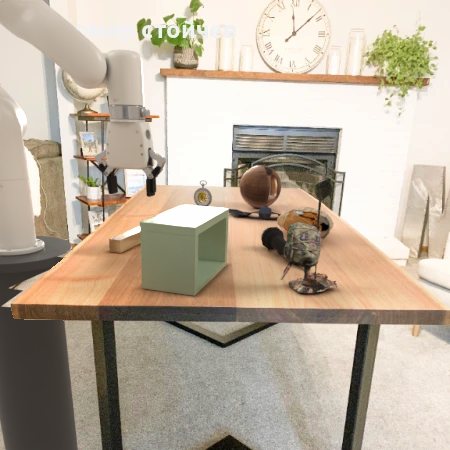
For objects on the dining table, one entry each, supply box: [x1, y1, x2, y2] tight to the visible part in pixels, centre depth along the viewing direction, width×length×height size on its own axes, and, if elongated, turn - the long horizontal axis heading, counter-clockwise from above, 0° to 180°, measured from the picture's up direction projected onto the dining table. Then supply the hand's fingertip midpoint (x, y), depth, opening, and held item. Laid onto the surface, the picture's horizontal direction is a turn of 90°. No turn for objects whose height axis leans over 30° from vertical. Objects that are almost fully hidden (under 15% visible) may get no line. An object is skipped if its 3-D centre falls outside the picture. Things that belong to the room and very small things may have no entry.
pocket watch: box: [193, 180, 213, 207], centre depth 150 cm, size 8×8×10 cm
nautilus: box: [276, 206, 335, 240], centre depth 118 cm, size 8×22×15 cm
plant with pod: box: [280, 176, 338, 294], centre depth 79 cm, size 8×11×20 cm
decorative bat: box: [229, 205, 282, 220], centre depth 144 cm, size 30×4×10 cm
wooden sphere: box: [239, 164, 282, 209], centre depth 160 cm, size 15×15×15 cm
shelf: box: [139, 203, 230, 297], centre depth 85 cm, size 10×20×12 cm, turn 164°
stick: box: [108, 225, 141, 254], centre depth 107 cm, size 3×16×3 cm, turn 164°
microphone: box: [260, 226, 303, 268], centre depth 101 cm, size 6×6×20 cm
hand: (131, 194), depth 103 cm, fingers open, 9 cm apart
